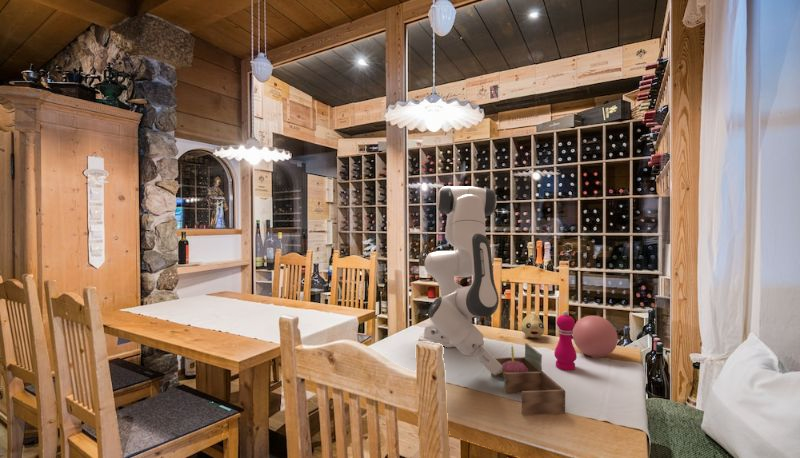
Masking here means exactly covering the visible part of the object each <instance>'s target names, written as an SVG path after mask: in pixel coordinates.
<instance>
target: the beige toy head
mask: <svg viewBox="0 0 800 458" xmlns="http://www.w3.org/2000/svg"><path fill="white" fill-rule="evenodd" d="M520 328H521V331H522V333H523V334H524V337H525V338H526V339H528V338H533V339H534V338H535V339H537V340H540V339H541V337H542V335H543V333H544V332H545V326H544V323H543V321H542V320H541V319H540V317H539V315H537V314H536V313H528V314H527V315H526V316H525V317H524V318H523V319H522V321H521V324H520Z"/></svg>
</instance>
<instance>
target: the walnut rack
mask: <svg viewBox="0 0 800 458" xmlns="http://www.w3.org/2000/svg"><path fill="white" fill-rule="evenodd" d="M494 358H495V359H496V360H497V361H498V362H499V363H500V364H501V365H502V364H503V363H504V362H506V361H511V360H512V356H511V357H494ZM542 358H543V357H542V354H541V353H540V352H539V351H538V350H536V349H535V348H534V347H532V346H531V345H530V344H529V343H525V344H524V356H518V357H517V356H514V361H518V362H521V363H523V364H524V365H525V366H526V367H527V369H528V372H515V373H505V378H504V394H507V395H509V394H512V395H513V394H521V414H522V416H525V415H527V416H528V415H550V414H565V413H566V390H565V389H564V388H563V387H562V386H560V385H559V384H558V383H557V382H556V381H555V380H554V379H552V377H550V376H548V374H546V373H545V372H544V371H542V370H543V369H542V367H543V366H542V360H543V359H542ZM490 376H491V377H492V378H493V377H494V378H498V377H500V378H501V377H504V376H503V374H502V373H500V374H497V375H493V374H492V373H491V372H490Z"/></svg>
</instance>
